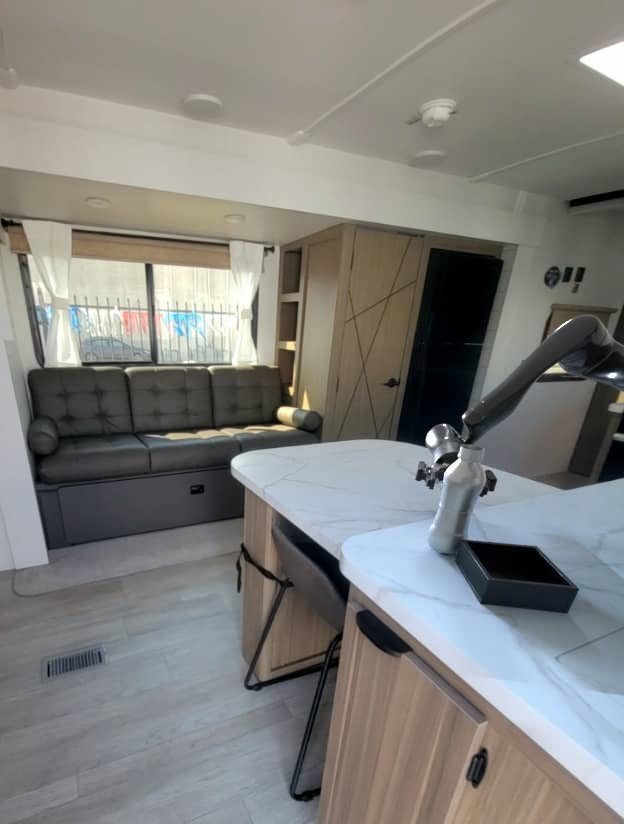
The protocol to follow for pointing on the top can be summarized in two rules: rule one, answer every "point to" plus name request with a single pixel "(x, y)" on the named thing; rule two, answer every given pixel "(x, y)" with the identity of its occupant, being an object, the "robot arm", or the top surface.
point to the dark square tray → (514, 576)
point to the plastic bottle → (458, 500)
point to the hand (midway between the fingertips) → (456, 488)
